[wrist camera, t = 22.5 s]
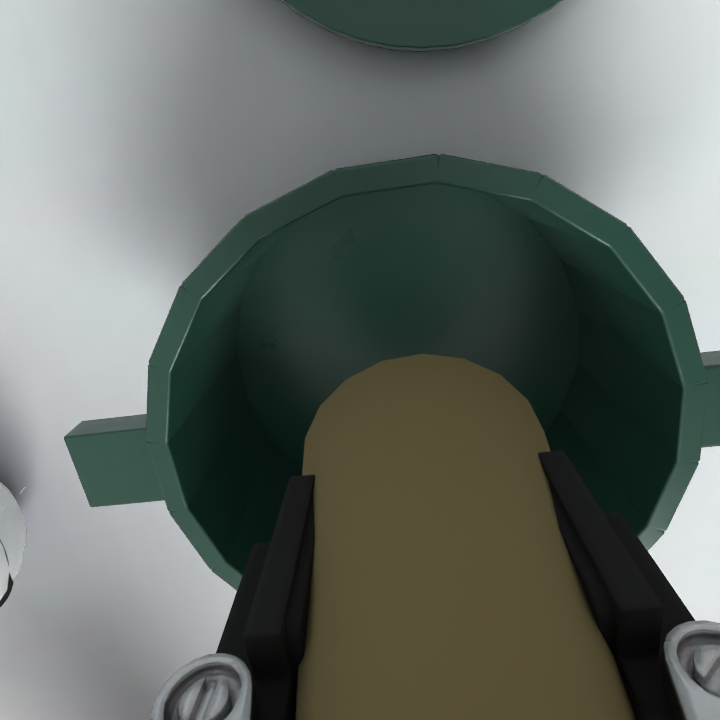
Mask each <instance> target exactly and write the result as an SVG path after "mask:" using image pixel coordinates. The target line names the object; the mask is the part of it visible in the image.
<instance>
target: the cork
mask: <svg viewBox="0 0 720 720" xmlns="http://www.w3.org/2000/svg"><path fill="white" fill-rule="evenodd" d="M540 452H550V448H549V445H548V442H547V439H546V436H545V432H544V430H543V428H542V426H541V424H540V422H539V420H538V418H537V416H536V414H535V413H534V411H533V409H532V407H531V405H530V403H529V401H528V400H527V399H526V398H525V397H524V396H523V395H522V394H521V393H520V392H519V391H518V390H517V389H515V388H514V387H513V386H512V385H511V384H510V383H509V382H508V381H507V380H506V379H505V378H504V377H503V376H501V375H500V374H498V373H496V372H493V371H491V370H489V369H487V368H484V367H482V366H480V365H478V364H475V363H473V362H471V361H469V360H466V359H464V358H456V357H447V356H439V355H430V354H418V355H412V356H407V357H401V358H396V359H390V360H385V361H381V362H379V363H377V364H375V365H373V366H371V367H369V368H367V369H365V370H363V371H361V372H360V373H358V374H356V375H354V376H352V377H350V378H348V379H346V380H345V381H344V382H343V383H342V384H341V385H340V386H339V387H338V388H337V389H336V390H335V391H334V392H333V393H332V394H331V395H330V396H329V397H328V398H327V399H326V400H325V401H324V402H323V403H322V404H321V405H320V407H319V409H318V411H317V413H316V415H315V418H314V420H313V422H312V424H311V426H310V428H309V430H308V433H307V435H306V437H305V444H304V457H303V470H302V476H304V475H315V479H314V488H313V501H314V527H315V543H314V553H313V564H312V575H311V585H310V596H309V607H308V617H307V628H306V639H305V650H304V657H303V659H302V661H301V663H300V664H299V666H298V678H297V691H296V713H295V720H636V717H635V714H634V711H633V708H632V705H631V702H630V699H629V697H628V694H627V691H626V688H625V686H624V683H623V680H622V677H621V674H620V672H619V669H618V666H617V663H616V660H615V657H614V655H613V654H612V652H611V650H610V648H609V646H608V644H607V643H606V641H605V639H604V637H603V635H602V633H601V632H600V630H599V628H598V626H597V623H596V620H595V618H594V615H593V613H592V610H591V608H590V605H589V603H588V600H587V598H586V595H585V592H584V590H583V587H582V585H581V582H580V580H579V577H578V575H577V572H576V570H575V567H574V564H573V562H572V559H571V557H570V554H569V552H568V549H567V547H566V544H565V542H564V539H563V536H562V534H561V531H560V529H559V526H558V521H557V517H556V513H555V508H554V504H553V499H552V495H551V490H550V486H549V481H548V478H547V476H546V474H545V472H544V469H543V467H542V464H541V462H540V459H539V457H538V453H540Z"/></svg>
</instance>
